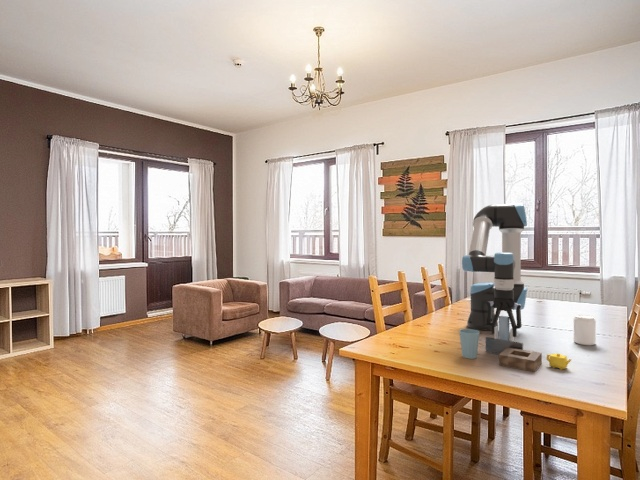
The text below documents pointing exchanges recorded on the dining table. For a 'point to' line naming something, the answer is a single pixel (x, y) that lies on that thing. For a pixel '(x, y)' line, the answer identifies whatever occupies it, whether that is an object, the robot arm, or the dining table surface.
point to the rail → (500, 345)
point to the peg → (504, 328)
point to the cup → (469, 343)
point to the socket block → (520, 359)
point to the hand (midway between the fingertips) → (504, 342)
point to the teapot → (558, 361)
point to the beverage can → (584, 330)
